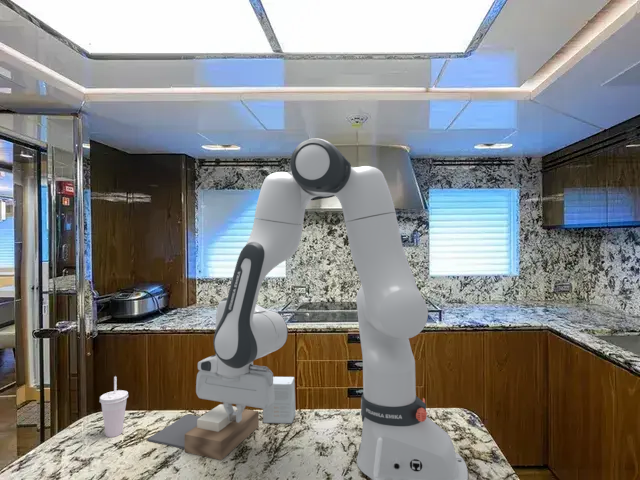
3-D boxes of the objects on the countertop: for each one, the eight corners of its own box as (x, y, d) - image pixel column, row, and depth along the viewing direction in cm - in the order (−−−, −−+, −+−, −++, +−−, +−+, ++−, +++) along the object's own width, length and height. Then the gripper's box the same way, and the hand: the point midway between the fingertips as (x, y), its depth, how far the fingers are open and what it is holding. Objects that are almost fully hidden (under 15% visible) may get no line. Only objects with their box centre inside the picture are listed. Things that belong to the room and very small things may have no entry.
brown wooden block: (258, 426, 96) (258, 411, 96) (221, 460, 81) (221, 441, 81) (226, 421, 99) (225, 406, 99) (184, 451, 84) (184, 434, 84)
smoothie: (133, 427, 97) (132, 373, 97) (120, 439, 90) (120, 381, 91) (108, 427, 96) (108, 373, 97) (93, 440, 90) (93, 382, 90)
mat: (223, 422, 98) (223, 420, 98) (187, 449, 85) (187, 447, 85) (187, 416, 103) (187, 414, 103) (147, 440, 90) (147, 438, 90)
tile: (240, 415, 94) (240, 407, 94) (218, 431, 85) (218, 423, 85) (220, 411, 96) (220, 404, 96) (197, 427, 87) (197, 419, 88)
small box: (295, 414, 103) (295, 376, 103) (292, 424, 97) (291, 383, 97) (267, 413, 104) (267, 375, 104) (262, 423, 98) (262, 383, 98)
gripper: (279, 363, 89) (279, 421, 88) (208, 355, 96) (208, 409, 95) (266, 371, 83) (266, 434, 82) (191, 362, 90) (192, 419, 90)
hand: (234, 420), depth 89 cm, fingers closed
